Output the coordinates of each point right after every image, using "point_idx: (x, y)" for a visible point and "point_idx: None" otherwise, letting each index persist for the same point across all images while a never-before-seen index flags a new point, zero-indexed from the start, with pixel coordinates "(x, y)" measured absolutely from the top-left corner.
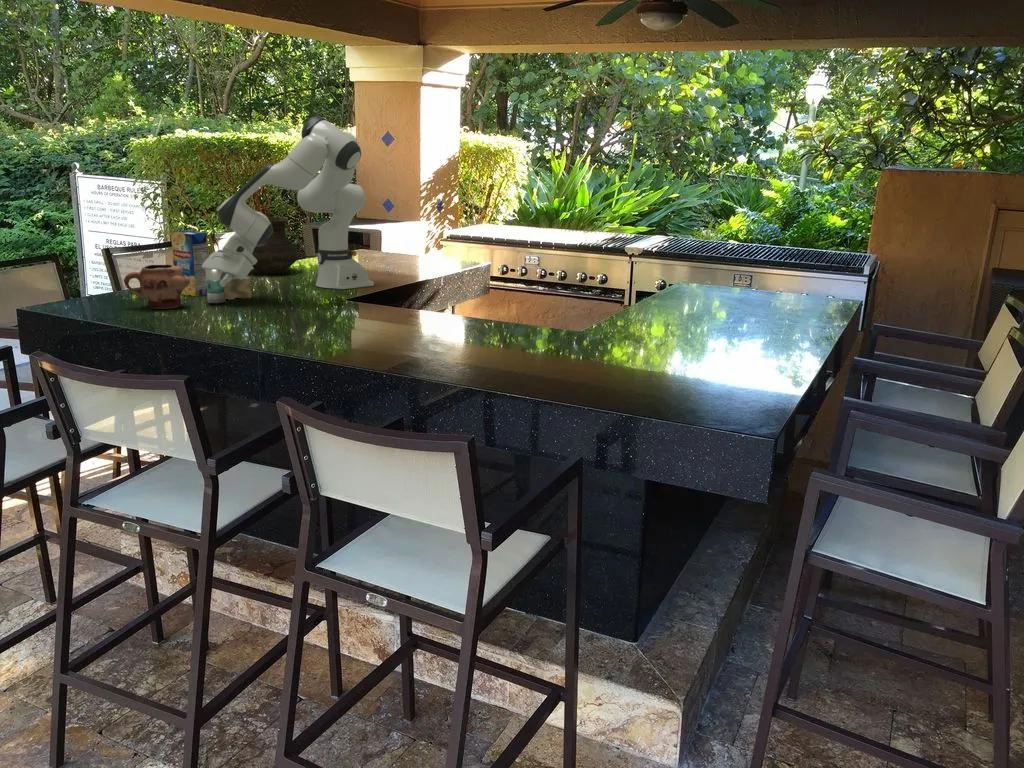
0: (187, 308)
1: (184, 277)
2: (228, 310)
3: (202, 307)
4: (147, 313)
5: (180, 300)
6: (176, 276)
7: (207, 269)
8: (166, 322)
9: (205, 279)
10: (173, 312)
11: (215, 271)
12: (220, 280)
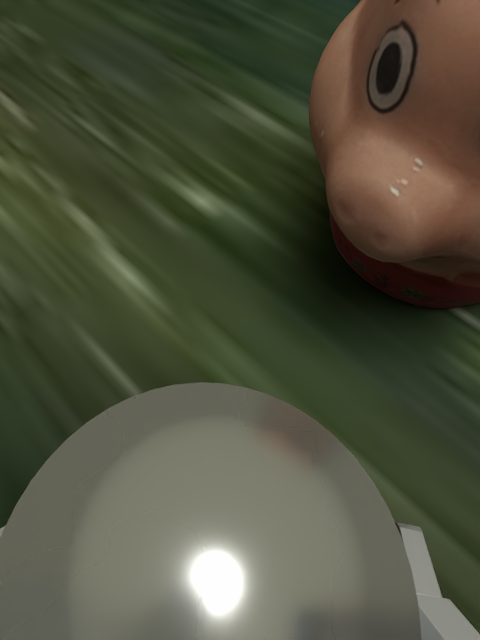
0: (288, 278)
1: (353, 125)
2: (20, 384)
3: (236, 355)
4: None
5: (373, 266)
6: (353, 15)
7: (293, 459)
8: (113, 42)
9: (423, 543)
10: (258, 169)
11: (59, 462)
12: None
